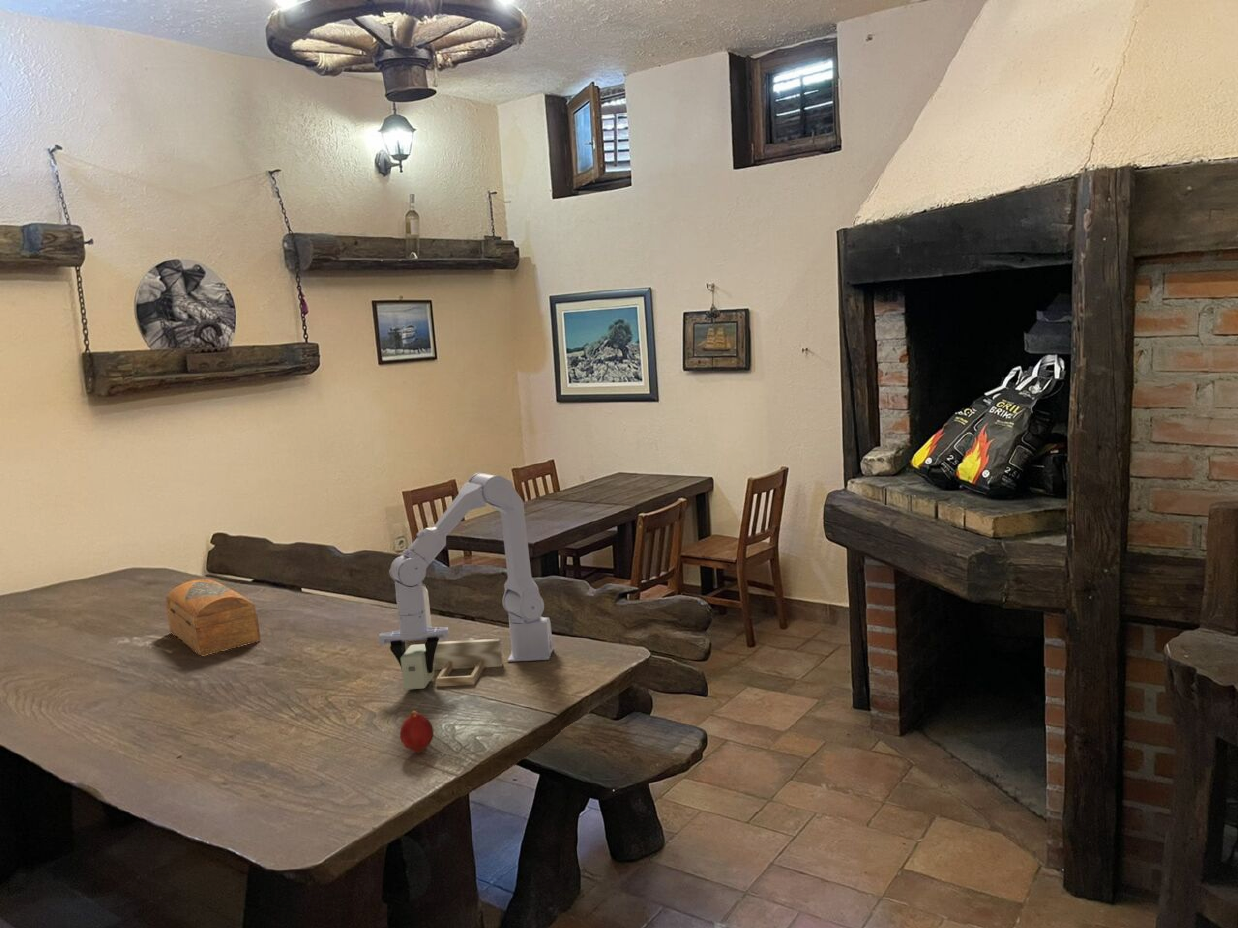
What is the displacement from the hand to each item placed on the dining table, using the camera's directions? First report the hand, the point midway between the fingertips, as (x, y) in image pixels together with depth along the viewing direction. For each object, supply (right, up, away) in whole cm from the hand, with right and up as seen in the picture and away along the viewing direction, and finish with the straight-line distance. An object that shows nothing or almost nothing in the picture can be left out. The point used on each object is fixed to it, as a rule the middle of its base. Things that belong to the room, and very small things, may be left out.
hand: (418, 672), depth 194 cm
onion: (+7, -7, -32) cm, 33 cm away
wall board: (+8, -2, +6) cm, 10 cm away
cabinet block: (0, -2, 0) cm, 2 cm away
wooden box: (-65, -2, +47) cm, 80 cm away
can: (-8, +1, +39) cm, 40 cm away
